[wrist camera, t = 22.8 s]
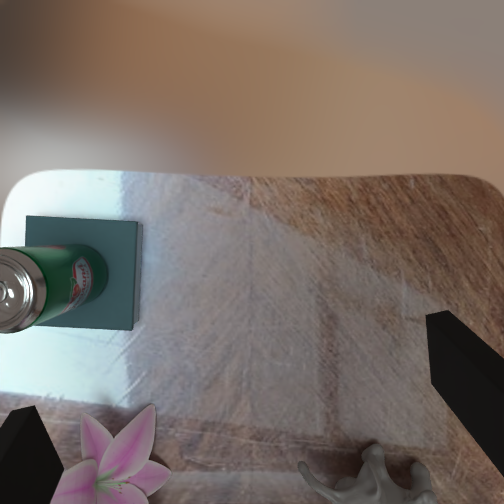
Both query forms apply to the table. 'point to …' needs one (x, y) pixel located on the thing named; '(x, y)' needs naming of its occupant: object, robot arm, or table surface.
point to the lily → (114, 464)
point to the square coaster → (116, 260)
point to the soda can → (46, 282)
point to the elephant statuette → (375, 483)
